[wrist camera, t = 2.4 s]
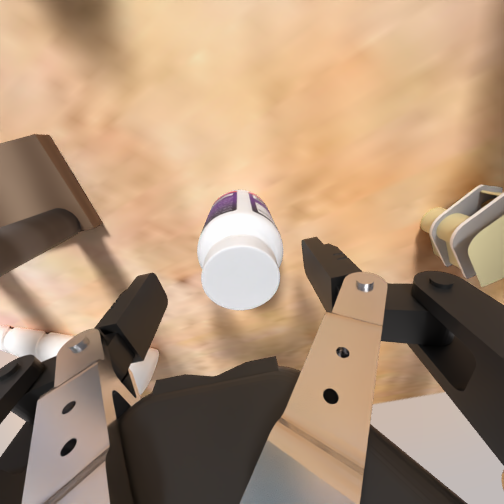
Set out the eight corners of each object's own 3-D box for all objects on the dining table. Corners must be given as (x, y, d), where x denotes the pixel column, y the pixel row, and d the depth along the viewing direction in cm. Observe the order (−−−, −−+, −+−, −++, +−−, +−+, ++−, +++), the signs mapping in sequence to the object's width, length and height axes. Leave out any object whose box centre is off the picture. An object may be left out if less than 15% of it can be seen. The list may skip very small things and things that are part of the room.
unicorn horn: (-76, 289, 21) (-159, 326, 16) (164, 342, 26) (150, 381, 22) (-66, 321, 22) (-137, 362, 18) (156, 364, 28) (142, 404, 24)
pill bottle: (210, 243, 20) (189, 320, 11) (209, 186, 17) (180, 228, 9) (266, 246, 20) (286, 321, 12) (272, 190, 18) (304, 233, 9)
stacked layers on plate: (496, 235, 22) (571, 261, 17) (411, 275, 23) (456, 309, 19) (491, 145, 17) (589, 146, 13) (388, 203, 19) (439, 223, 14)
